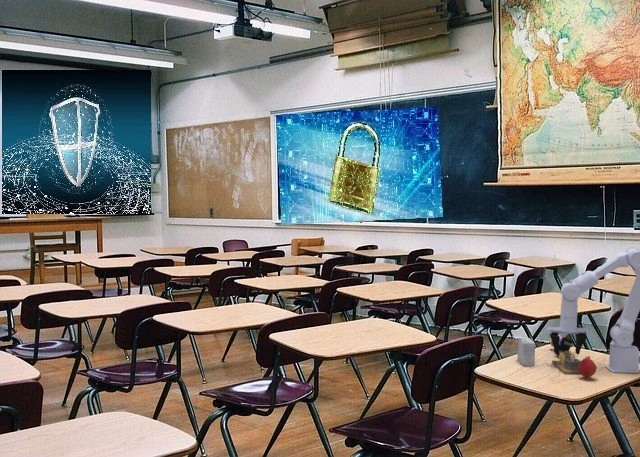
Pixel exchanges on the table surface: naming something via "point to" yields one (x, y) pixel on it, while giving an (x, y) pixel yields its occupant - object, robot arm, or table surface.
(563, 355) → the golden octagonal nut
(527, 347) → the medicine box
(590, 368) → the onion
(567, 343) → the character figurine
